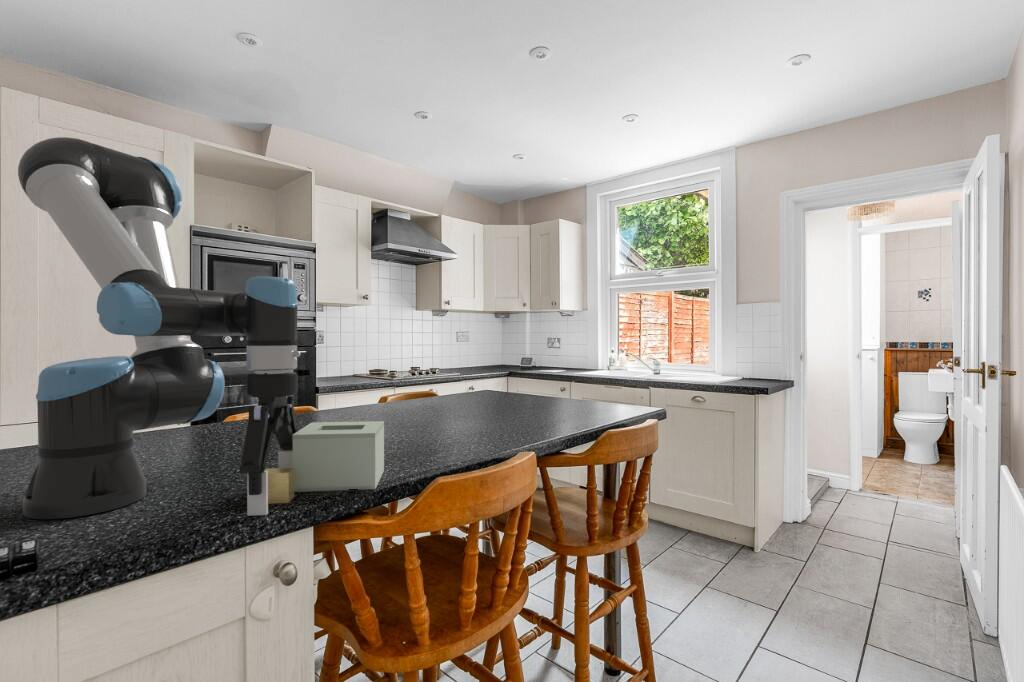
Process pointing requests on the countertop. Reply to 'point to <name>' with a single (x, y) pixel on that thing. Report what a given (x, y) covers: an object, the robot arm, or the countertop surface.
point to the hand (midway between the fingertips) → (273, 500)
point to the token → (280, 485)
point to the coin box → (338, 456)
